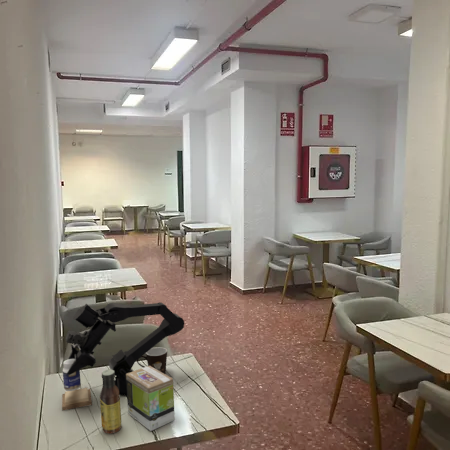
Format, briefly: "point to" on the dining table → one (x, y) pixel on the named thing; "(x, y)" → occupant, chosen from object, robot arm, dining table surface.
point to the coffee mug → (156, 358)
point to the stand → (76, 398)
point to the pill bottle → (70, 376)
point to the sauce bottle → (110, 403)
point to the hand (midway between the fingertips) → (67, 370)
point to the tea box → (150, 397)
